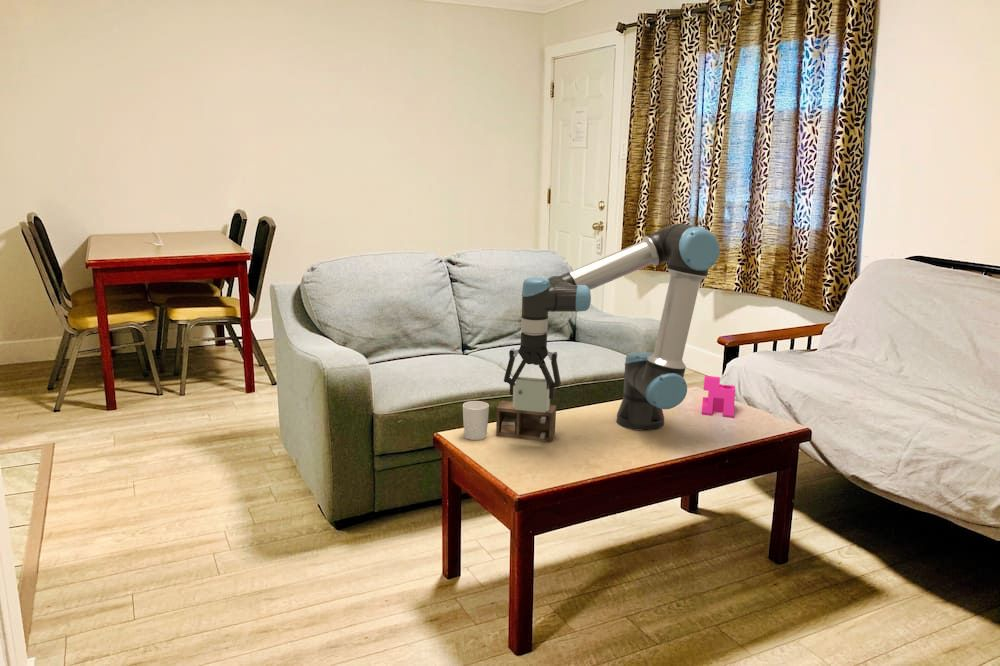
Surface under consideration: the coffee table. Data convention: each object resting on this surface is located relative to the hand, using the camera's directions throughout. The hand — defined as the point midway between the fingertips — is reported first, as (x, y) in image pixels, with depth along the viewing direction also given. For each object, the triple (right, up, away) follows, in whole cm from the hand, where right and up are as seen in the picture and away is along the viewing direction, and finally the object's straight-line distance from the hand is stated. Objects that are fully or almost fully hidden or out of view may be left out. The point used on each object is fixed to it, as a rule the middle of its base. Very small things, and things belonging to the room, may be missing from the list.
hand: (531, 407), depth 223 cm
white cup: (-17, -10, +9) cm, 21 cm away
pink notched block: (+65, -5, +37) cm, 75 cm away
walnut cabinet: (-1, -10, +10) cm, 14 cm away
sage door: (0, 0, 0) cm, 0 cm away
